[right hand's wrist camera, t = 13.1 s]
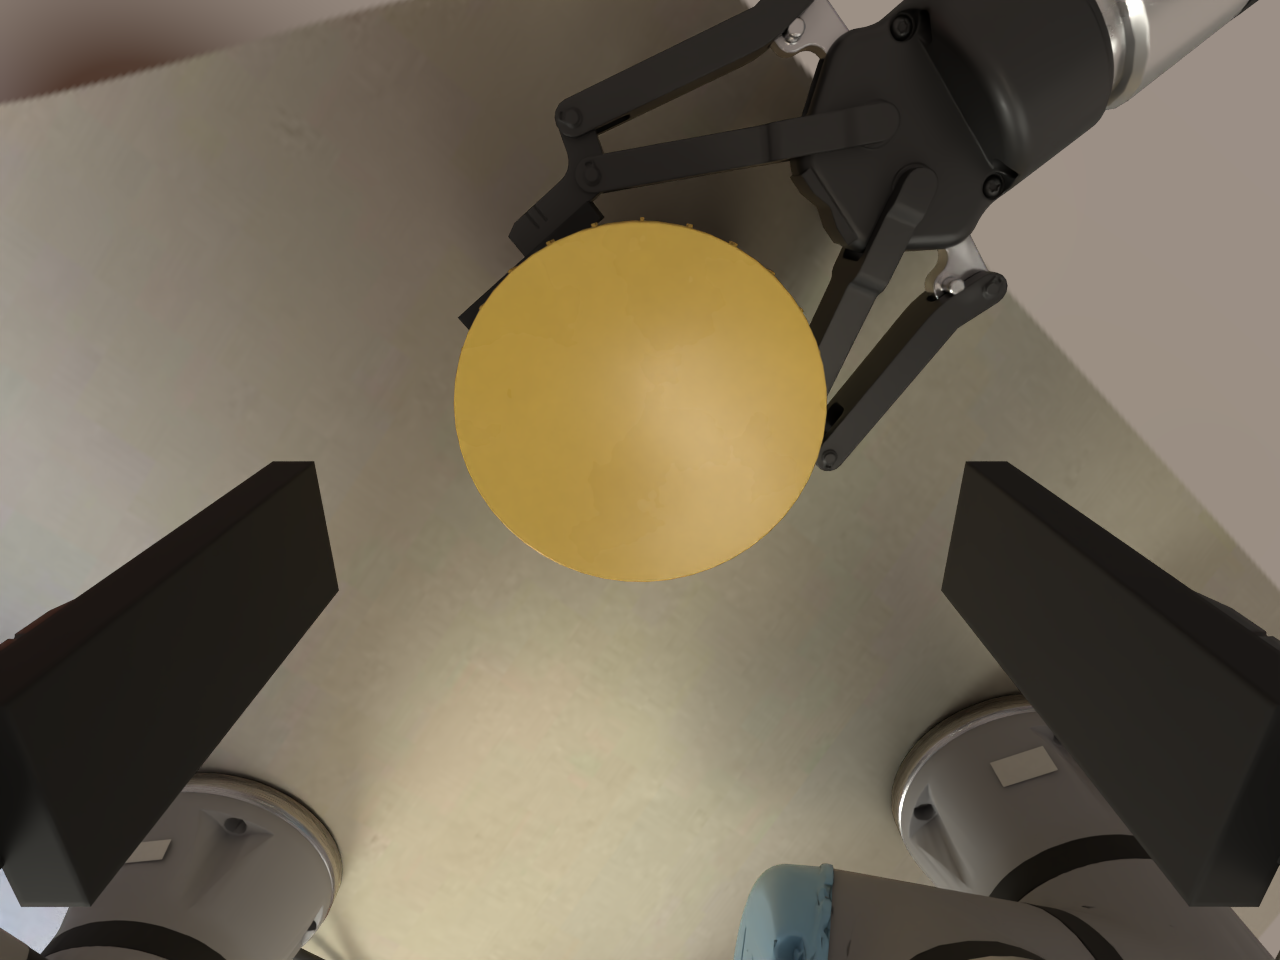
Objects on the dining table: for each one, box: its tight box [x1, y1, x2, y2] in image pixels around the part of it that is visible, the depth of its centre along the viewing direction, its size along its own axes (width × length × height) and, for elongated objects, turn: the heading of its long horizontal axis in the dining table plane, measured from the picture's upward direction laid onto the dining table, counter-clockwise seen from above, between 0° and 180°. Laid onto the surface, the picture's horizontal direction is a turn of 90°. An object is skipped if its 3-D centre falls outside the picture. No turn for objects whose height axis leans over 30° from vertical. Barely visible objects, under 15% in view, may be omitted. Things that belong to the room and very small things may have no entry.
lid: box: [454, 217, 827, 582], centre depth 20 cm, size 11×11×2 cm
